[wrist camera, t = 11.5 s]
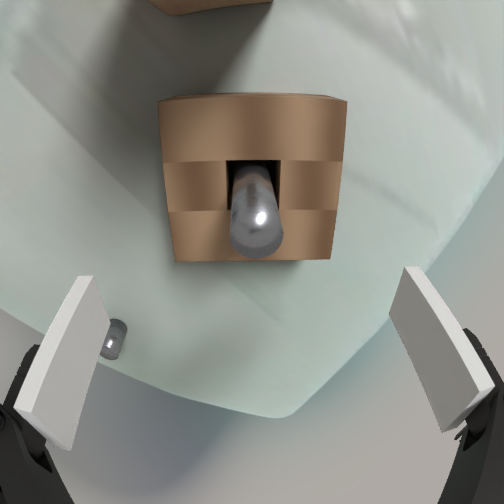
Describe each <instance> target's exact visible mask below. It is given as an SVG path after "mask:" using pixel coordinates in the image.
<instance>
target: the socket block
mask: <svg viewBox="0 0 504 504" xmlns="http://www.w3.org/2000/svg"><path fill="white" fill-rule="evenodd" d="M158 113H159V127H160V139H161V151H162V161H163V171H164V181H165V190H166V198H167V206H168V214H169V222H170V229H171V236H172V243H173V250H174V256H175V262H177V261H258V260H317V259H330V257H331V251H332V244H333V237H334V230H335V223H336V215H337V207H338V199H339V190H340V182H341V172H342V162H343V152H344V140H345V128H346V113H347V101H344V100H341V99H337V98H334V97H330V96H325V95H312V94H294V93H214V94H196V95H183V96H174V97H171V98H168V99H165V100H162V101H159V102H158ZM229 160H274V161H273V185H272V187H273V191H274V195H275V199H276V203H277V207H278V211H279V215H280V220H281V224H282V228H283V241H282V243H281V245H280V247H279V248H278V249H277V250H276V251H275V252H274V253H273V254H271V255H269V256H267V257H264V258H259V259H253V258H248V257H245V256H243V255H241V254H239V253H238V252H237V251H236V250H235V249H234V248H233V246H232V244H231V242H230V237H229V235H230V221H231V207H232V195H233V185H230V165H229Z"/></svg>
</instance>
